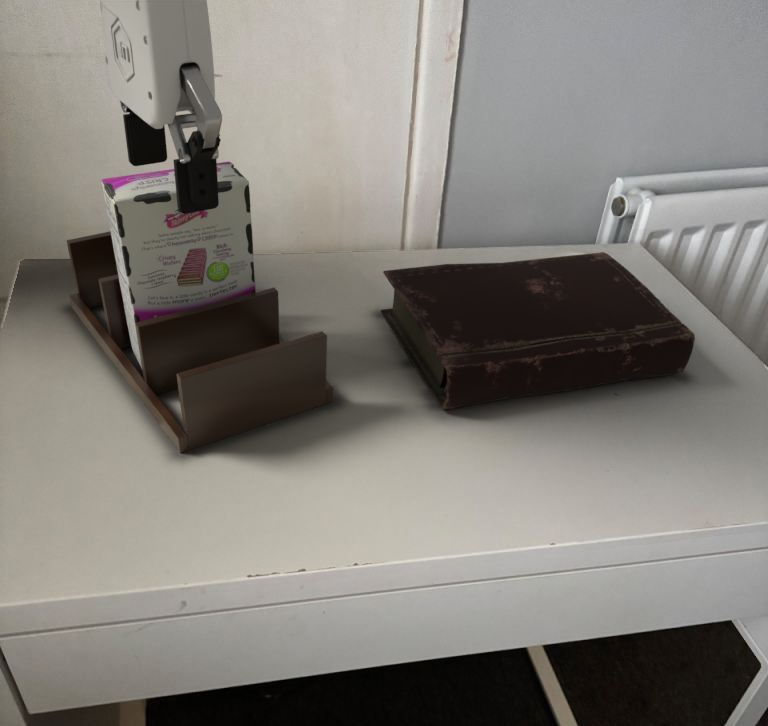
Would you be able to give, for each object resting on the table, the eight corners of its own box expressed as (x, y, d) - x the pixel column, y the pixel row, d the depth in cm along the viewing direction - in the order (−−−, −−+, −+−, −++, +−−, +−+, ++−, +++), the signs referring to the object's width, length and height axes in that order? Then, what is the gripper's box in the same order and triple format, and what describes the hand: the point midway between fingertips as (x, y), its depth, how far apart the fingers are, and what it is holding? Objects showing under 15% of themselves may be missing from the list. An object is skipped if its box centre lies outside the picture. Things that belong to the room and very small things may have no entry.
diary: (684, 380, 80) (701, 335, 77) (444, 418, 73) (450, 370, 70) (589, 286, 93) (601, 243, 89) (377, 311, 86) (380, 265, 82)
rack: (72, 308, 82) (57, 241, 78) (207, 275, 89) (202, 212, 84) (180, 453, 68) (170, 381, 63) (333, 401, 74) (335, 333, 69)
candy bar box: (242, 327, 82) (231, 158, 71) (260, 353, 79) (253, 181, 68) (128, 351, 78) (98, 175, 66) (143, 379, 75) (114, 199, 63)
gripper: (50, -93, 59) (88, 153, 71) (147, -35, 49) (173, 239, 61) (151, -94, 62) (172, 141, 74) (260, -40, 52) (264, 221, 64)
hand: (172, 185), depth 67 cm, fingers open, 9 cm apart
